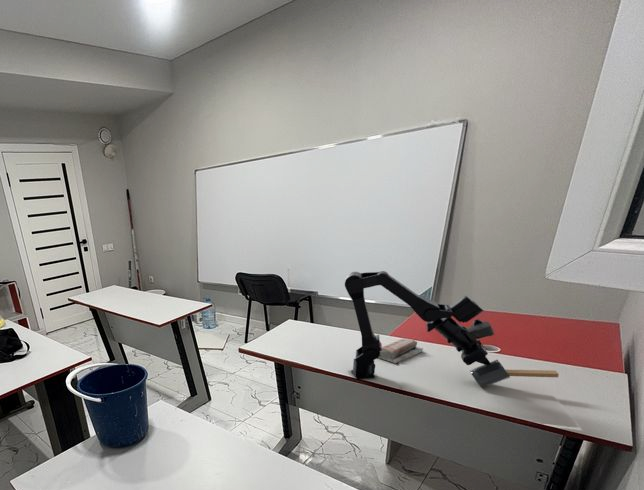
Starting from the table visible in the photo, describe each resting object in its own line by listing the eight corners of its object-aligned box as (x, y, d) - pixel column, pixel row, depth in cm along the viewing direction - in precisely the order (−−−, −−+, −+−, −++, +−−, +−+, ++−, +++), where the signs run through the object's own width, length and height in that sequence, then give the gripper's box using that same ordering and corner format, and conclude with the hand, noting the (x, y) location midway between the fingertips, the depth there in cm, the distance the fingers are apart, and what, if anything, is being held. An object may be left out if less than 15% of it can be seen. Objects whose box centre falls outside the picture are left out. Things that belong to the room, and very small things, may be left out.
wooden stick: (478, 372, 117) (558, 373, 108) (476, 368, 119) (555, 370, 110) (478, 375, 118) (558, 377, 108) (476, 372, 120) (554, 374, 110)
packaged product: (397, 353, 138) (373, 346, 146) (396, 364, 140) (372, 356, 148) (425, 340, 145) (400, 334, 154) (423, 351, 147) (399, 345, 156)
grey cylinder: (475, 380, 116) (504, 369, 111) (467, 366, 121) (495, 355, 116) (483, 391, 118) (513, 381, 113) (475, 377, 123) (503, 367, 118)
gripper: (484, 324, 105) (525, 361, 104) (470, 306, 120) (506, 338, 119) (447, 347, 111) (486, 382, 110) (438, 327, 126) (472, 358, 125)
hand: (488, 364), depth 116 cm, fingers closed, pressing on grey cylinder
